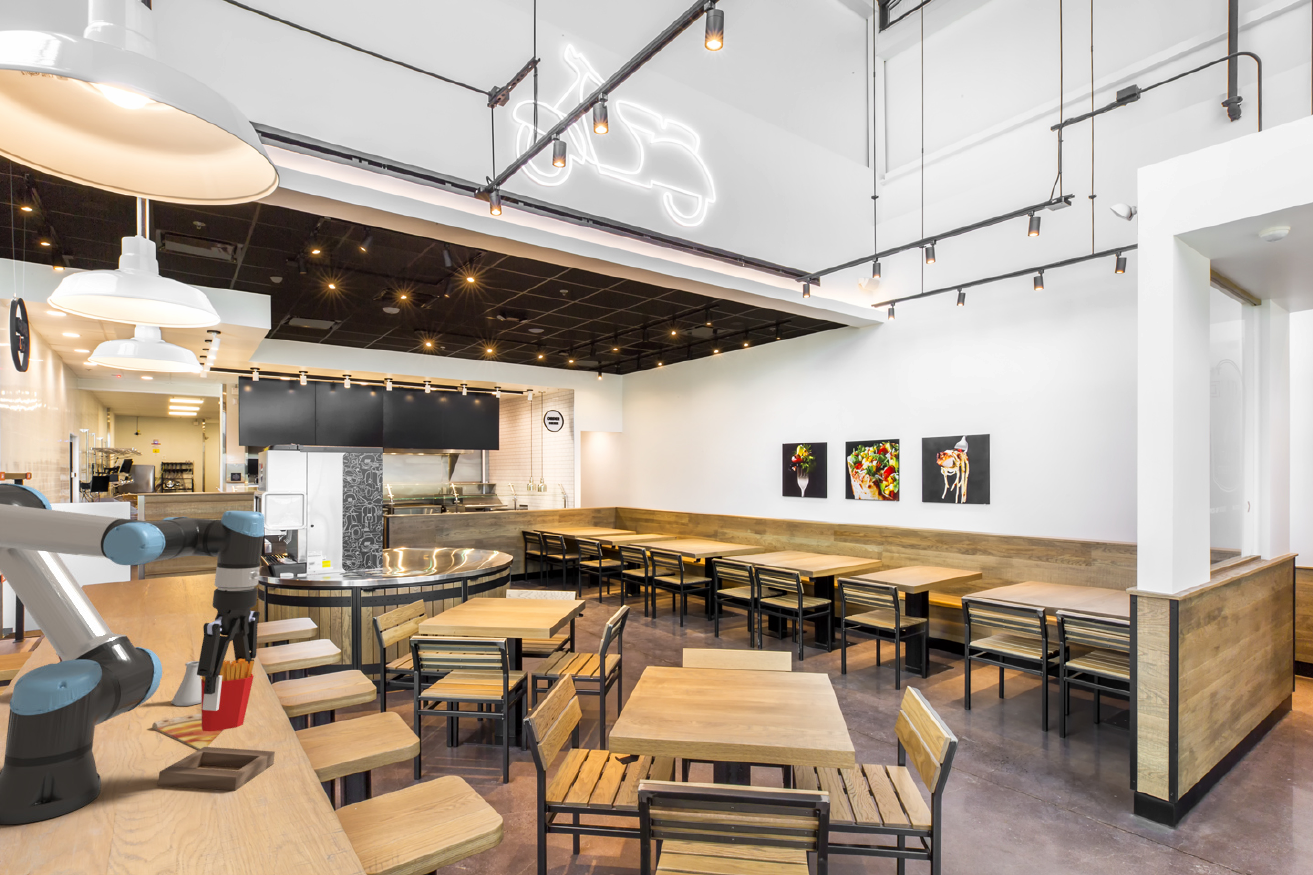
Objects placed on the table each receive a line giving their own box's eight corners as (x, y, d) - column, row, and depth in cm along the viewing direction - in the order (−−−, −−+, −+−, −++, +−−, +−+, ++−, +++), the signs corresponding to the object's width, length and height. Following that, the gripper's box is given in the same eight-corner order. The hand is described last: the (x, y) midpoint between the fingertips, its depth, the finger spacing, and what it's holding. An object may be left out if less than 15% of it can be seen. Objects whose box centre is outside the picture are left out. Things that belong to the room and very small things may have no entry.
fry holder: (235, 790, 124) (236, 776, 124) (158, 785, 125) (159, 771, 125) (273, 763, 136) (274, 751, 136) (203, 758, 137) (204, 746, 137)
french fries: (246, 718, 136) (252, 654, 136) (249, 725, 132) (256, 660, 133) (192, 726, 130) (199, 660, 130) (194, 734, 126) (201, 666, 127)
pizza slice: (116, 758, 136) (117, 748, 136) (164, 720, 157) (165, 711, 157) (202, 754, 140) (203, 744, 140) (238, 717, 161) (239, 708, 161)
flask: (187, 708, 164) (192, 667, 165) (164, 704, 166) (168, 664, 166) (213, 699, 171) (217, 660, 172) (190, 696, 173) (194, 657, 173)
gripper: (220, 596, 123) (206, 722, 121) (283, 581, 143) (272, 689, 141) (182, 594, 123) (167, 719, 122) (249, 579, 143) (238, 686, 141)
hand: (223, 702), depth 131 cm, fingers closed on french fries, 7 cm apart
